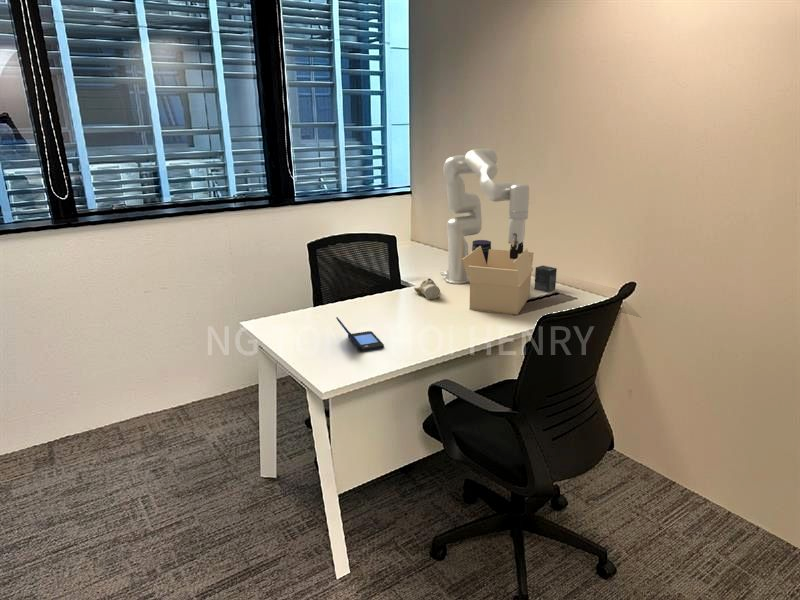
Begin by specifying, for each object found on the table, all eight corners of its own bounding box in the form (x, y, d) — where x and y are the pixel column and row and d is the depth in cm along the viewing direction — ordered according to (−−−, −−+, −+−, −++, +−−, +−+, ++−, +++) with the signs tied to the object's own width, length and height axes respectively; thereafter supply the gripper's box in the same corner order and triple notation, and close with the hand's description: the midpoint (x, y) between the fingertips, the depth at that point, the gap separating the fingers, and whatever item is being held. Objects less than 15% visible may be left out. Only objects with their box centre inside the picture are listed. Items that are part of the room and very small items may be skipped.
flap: (512, 262, 209) (514, 262, 208) (525, 248, 230) (527, 248, 230) (519, 286, 210) (520, 285, 210) (531, 270, 232) (533, 270, 232)
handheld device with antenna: (385, 349, 185) (384, 324, 183) (348, 355, 181) (346, 330, 178) (371, 333, 199) (370, 310, 196) (336, 339, 195) (335, 315, 192)
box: (555, 290, 245) (557, 268, 242) (548, 292, 242) (549, 270, 238) (541, 286, 251) (542, 264, 247) (533, 289, 247) (535, 267, 244)
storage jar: (470, 271, 278) (470, 243, 274) (473, 266, 287) (473, 239, 283) (489, 272, 276) (490, 244, 271) (491, 267, 285) (492, 240, 280)
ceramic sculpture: (422, 282, 230) (412, 275, 244) (422, 302, 232) (413, 294, 246) (445, 280, 233) (434, 274, 247) (445, 299, 235) (434, 292, 249)
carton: (458, 310, 221) (459, 260, 214) (480, 289, 248) (481, 244, 242) (515, 317, 212) (518, 265, 205) (531, 294, 239) (533, 248, 232)
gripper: (514, 211, 224) (512, 251, 229) (504, 218, 209) (502, 260, 214) (531, 212, 221) (529, 252, 226) (523, 219, 206) (520, 261, 211)
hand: (516, 256), depth 220 cm, fingers open, 9 cm apart
